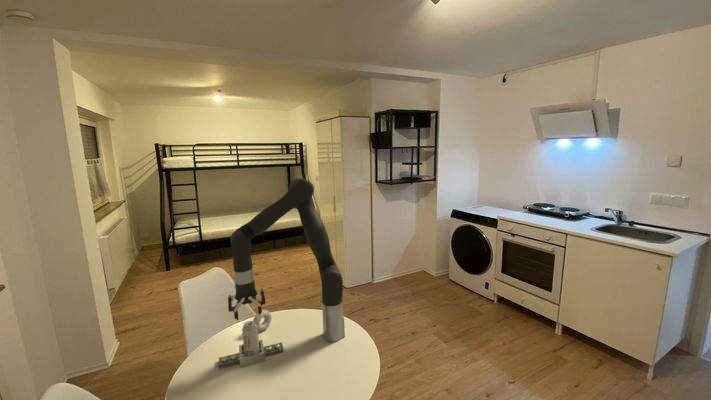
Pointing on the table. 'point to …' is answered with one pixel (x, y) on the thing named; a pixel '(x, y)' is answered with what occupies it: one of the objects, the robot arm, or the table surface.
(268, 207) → the robot arm
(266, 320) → the donut
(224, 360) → the mounting bracket
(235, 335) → the table surface
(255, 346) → the energy drink can
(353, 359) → the table surface
